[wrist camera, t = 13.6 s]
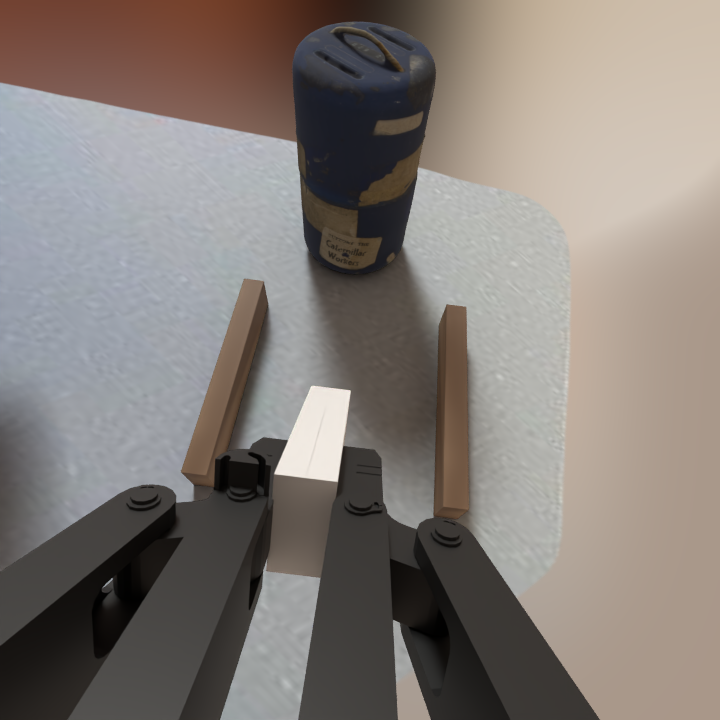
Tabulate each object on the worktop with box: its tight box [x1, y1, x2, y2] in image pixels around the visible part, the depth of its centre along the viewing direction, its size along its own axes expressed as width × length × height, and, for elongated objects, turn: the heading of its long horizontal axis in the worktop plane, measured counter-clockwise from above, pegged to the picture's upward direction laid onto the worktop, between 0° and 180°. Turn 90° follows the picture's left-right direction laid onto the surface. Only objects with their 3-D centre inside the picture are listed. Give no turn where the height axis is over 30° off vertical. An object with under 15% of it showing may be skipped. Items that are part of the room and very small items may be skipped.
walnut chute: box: [181, 279, 469, 519], centre depth 33 cm, size 18×16×3 cm
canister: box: [292, 22, 436, 274], centre depth 35 cm, size 10×10×18 cm
